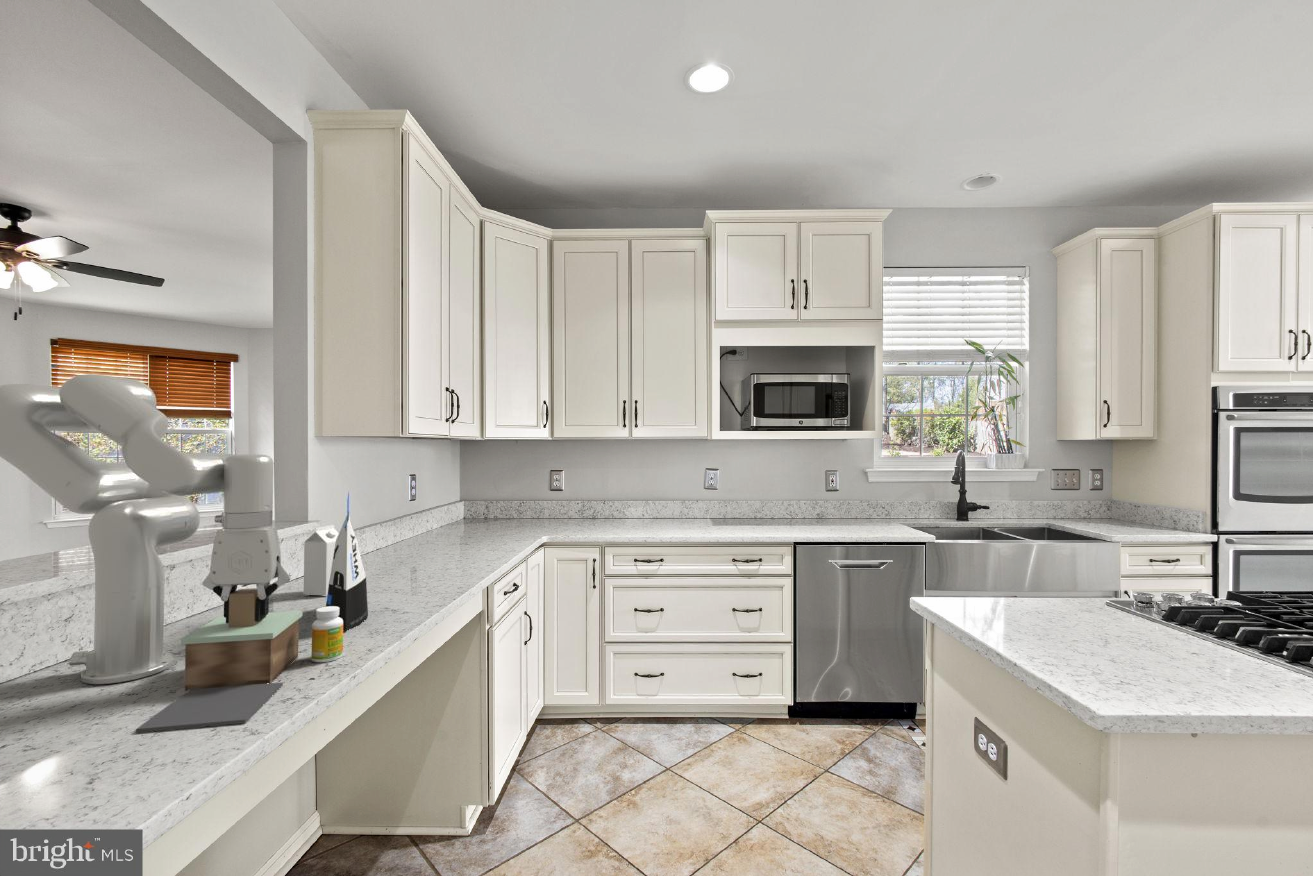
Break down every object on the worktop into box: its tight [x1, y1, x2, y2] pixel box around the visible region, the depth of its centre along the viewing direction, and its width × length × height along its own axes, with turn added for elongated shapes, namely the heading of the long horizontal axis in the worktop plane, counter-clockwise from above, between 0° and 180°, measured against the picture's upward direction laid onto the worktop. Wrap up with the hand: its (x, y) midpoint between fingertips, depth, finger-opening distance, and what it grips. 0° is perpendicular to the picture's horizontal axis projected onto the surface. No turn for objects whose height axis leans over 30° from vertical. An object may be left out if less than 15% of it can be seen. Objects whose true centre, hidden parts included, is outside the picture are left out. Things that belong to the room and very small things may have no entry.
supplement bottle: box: [310, 606, 344, 663], centre depth 114 cm, size 5×5×10 cm
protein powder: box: [325, 491, 369, 633], centre depth 141 cm, size 10×24×30 cm, turn 27°
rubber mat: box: [135, 682, 284, 734], centre depth 93 cm, size 14×14×1 cm
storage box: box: [184, 618, 300, 691], centre depth 107 cm, size 13×13×8 cm
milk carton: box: [303, 524, 339, 596], centre depth 164 cm, size 7×7×19 cm
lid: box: [180, 587, 303, 645], centre depth 107 cm, size 14×14×7 cm
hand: (246, 619), depth 107 cm, fingers closed on lid, 4 cm apart
